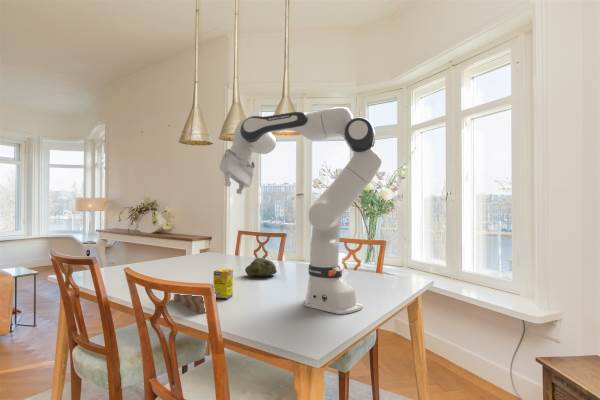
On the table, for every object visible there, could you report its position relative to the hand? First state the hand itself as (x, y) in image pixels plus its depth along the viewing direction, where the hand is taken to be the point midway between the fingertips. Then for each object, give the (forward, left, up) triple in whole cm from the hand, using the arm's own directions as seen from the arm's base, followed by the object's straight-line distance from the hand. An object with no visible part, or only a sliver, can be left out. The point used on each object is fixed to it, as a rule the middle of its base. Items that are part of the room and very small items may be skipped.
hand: (233, 189), depth 138 cm
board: (-1, +17, -43) cm, 46 cm away
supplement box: (+1, +3, -43) cm, 43 cm away
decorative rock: (+24, -32, -43) cm, 59 cm away
